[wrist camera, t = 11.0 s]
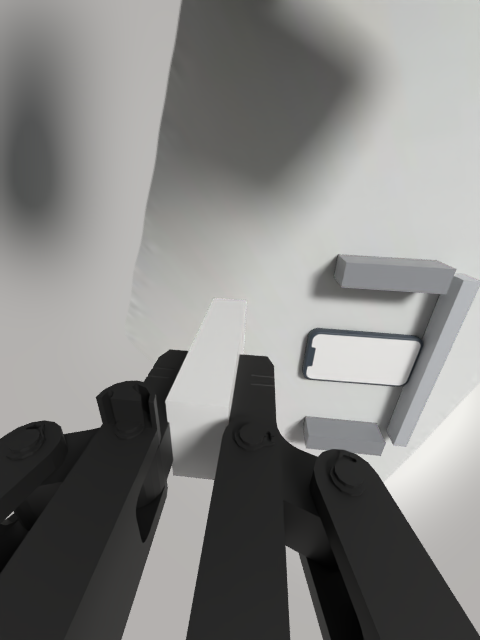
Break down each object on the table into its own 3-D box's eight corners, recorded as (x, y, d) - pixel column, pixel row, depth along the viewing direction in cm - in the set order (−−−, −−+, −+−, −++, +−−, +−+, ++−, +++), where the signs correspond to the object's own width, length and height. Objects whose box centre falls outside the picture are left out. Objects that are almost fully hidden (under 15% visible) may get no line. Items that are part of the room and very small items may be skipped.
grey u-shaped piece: (338, 254, 34) (346, 262, 31) (469, 262, 33) (494, 271, 30) (303, 428, 48) (306, 448, 45) (395, 437, 47) (406, 458, 44)
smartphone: (421, 333, 39) (309, 325, 40) (427, 338, 38) (311, 330, 38) (401, 381, 43) (300, 373, 44) (406, 388, 42) (301, 380, 42)
